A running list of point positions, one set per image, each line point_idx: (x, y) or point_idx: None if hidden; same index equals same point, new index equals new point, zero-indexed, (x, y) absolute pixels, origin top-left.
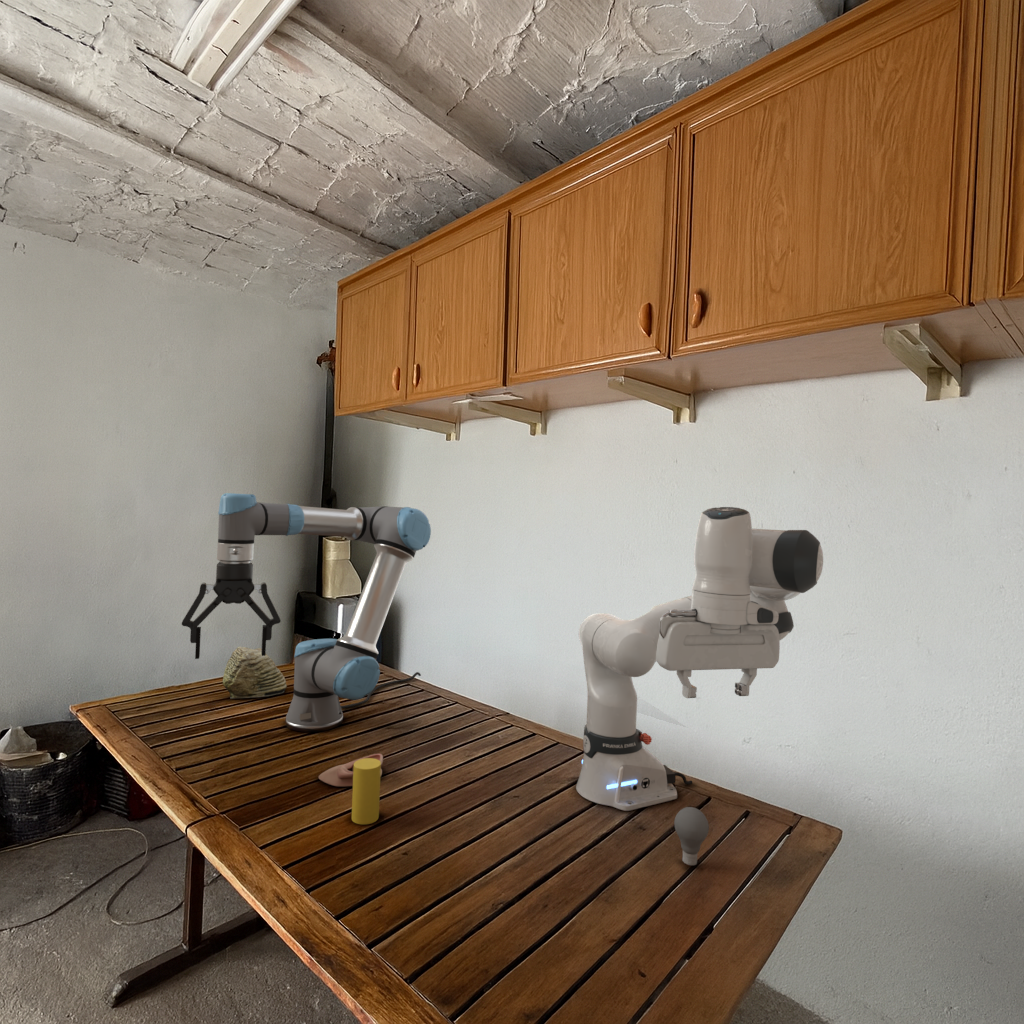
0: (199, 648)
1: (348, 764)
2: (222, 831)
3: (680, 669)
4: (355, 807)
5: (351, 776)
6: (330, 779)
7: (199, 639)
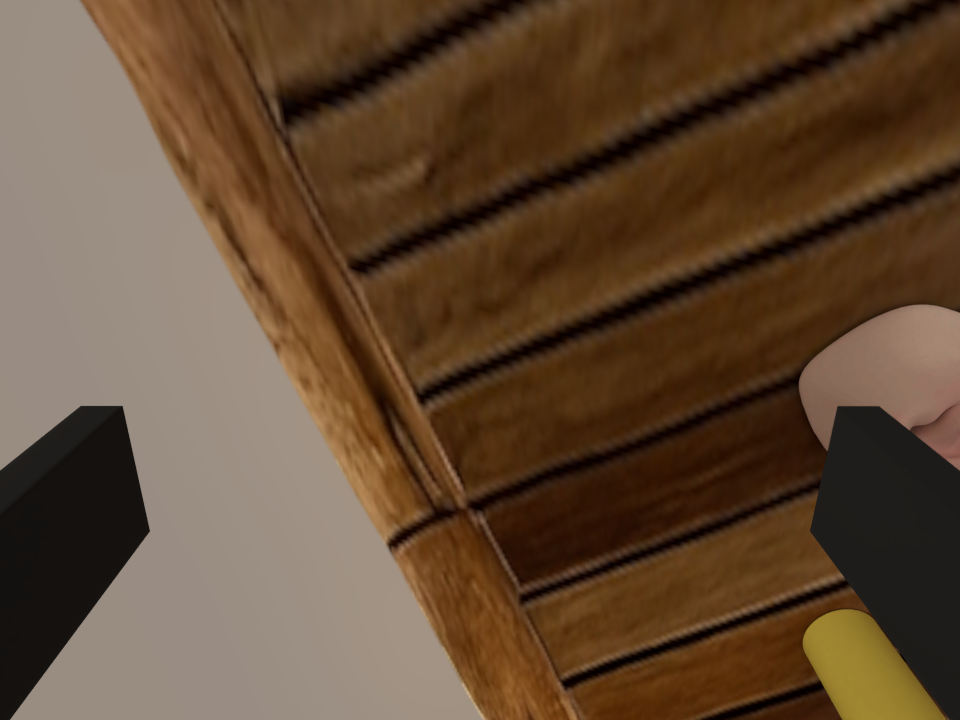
0: (85, 590)
1: (928, 412)
2: (477, 596)
3: None
4: (824, 687)
5: None
6: (830, 431)
7: (4, 717)
